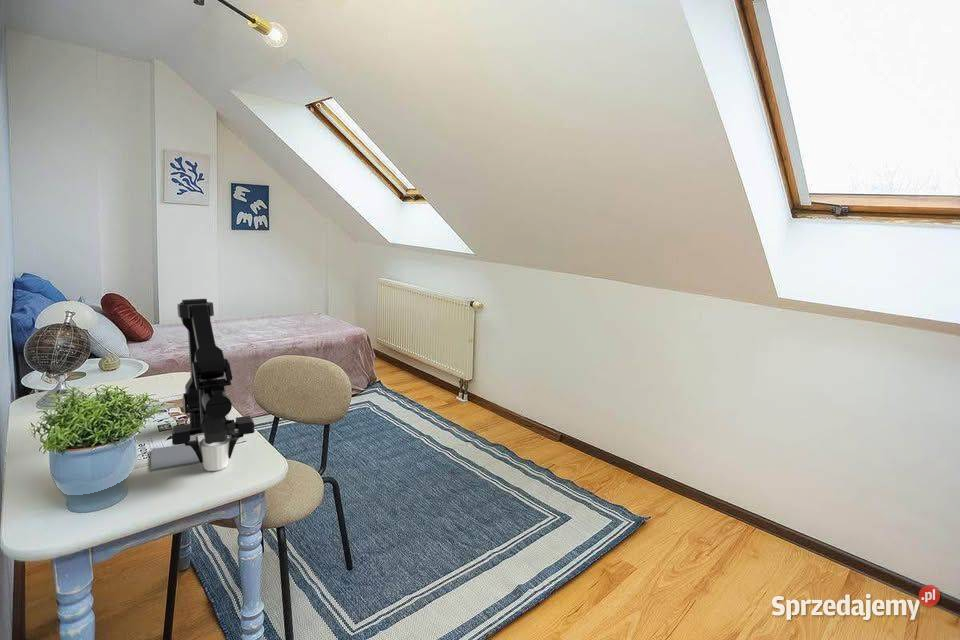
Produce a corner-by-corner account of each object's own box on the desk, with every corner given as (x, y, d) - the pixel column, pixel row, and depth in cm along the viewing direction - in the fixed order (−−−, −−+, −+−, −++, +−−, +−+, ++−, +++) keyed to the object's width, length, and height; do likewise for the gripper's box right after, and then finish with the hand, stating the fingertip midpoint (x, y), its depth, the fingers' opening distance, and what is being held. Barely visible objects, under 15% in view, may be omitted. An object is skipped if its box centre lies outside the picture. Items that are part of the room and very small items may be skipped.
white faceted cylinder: (218, 474, 137) (217, 448, 135) (194, 469, 138) (193, 444, 136) (236, 461, 143) (234, 437, 142) (213, 457, 144) (211, 433, 143)
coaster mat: (151, 451, 146) (151, 448, 146) (201, 443, 152) (201, 441, 152) (150, 471, 136) (150, 469, 136) (204, 462, 142) (204, 460, 142)
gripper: (170, 421, 125) (174, 482, 129) (256, 410, 134) (258, 467, 138) (169, 404, 135) (173, 461, 138) (250, 394, 144) (252, 448, 147)
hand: (215, 460), depth 140 cm, fingers closed on white faceted cylinder, 6 cm apart
